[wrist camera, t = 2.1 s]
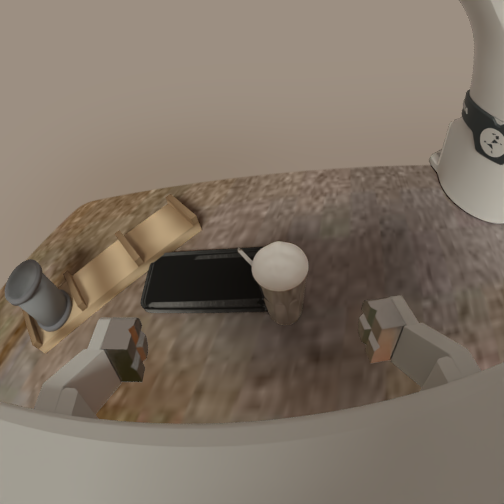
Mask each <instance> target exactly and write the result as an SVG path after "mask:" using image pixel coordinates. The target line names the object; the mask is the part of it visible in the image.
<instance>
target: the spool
mask: <svg viewBox="0 0 504 504" xmlns="http://www.w3.org/2000/svg"><path fill="white" fill-rule="evenodd" d="M5 297H6V299H7V300H8V301H9V302H10V303H11V304H12V305H15V306H20V307H21V308H22V309H23V310H24V311H26V312H27V313H28V314H29V315H30V316H32V317H33V318H34V319H35V320H37V323H38V325H39V326H40V327H41V328H42V329H43V330H45V331H47V332H53V331H56V330H58V329H59V328H61V327H62V326H63V325H64V324H65V323H66V321H67V320H68V318H69V316H70V314H71V310H72V299H71V297H70V296H69V294H68V293H67V292H65V291H64V290H61V289H58V288H57V287H56V286H55V285H54V284H53V283H52V282H51V281H50V280H49V279H48V278H47V277H46V276H45V275H44V274H43V273H42V268H41V266H40V265H39V264H38V263H37V262H36V261H35V260H26V261H24V262H22V263H21V264H20V265H18V266H17V267H16V268H15V269H14V271H13V272H12V273H11V275H10V276H9V278H8V281H7V283H6V287H5Z"/></svg>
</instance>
